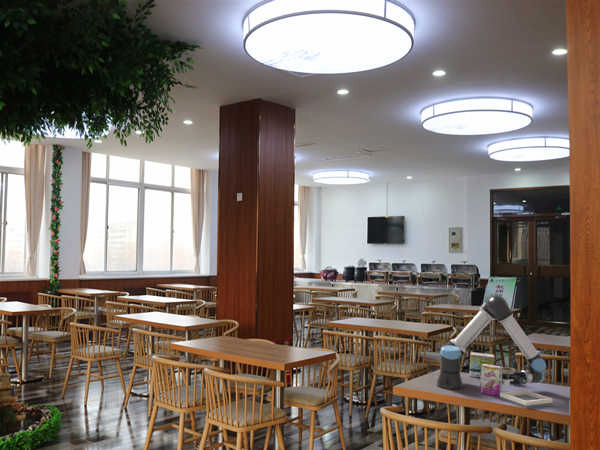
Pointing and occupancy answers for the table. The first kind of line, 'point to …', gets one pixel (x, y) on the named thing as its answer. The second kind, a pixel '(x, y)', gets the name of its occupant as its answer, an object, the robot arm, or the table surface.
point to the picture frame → (526, 399)
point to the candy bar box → (491, 380)
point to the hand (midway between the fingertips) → (495, 379)
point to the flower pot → (507, 371)
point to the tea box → (479, 362)
